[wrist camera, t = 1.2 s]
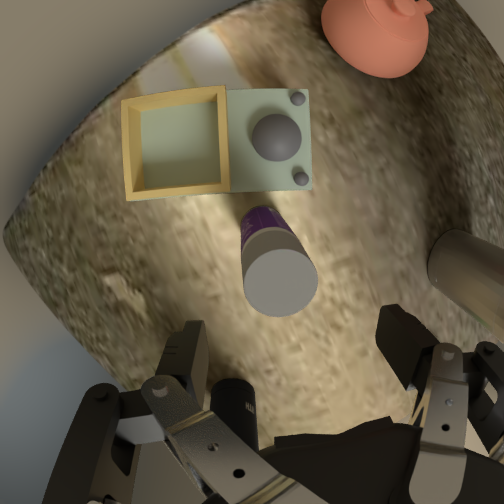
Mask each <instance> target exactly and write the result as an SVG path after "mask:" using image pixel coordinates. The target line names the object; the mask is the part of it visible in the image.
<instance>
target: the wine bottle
mask: <svg viewBox="0 0 504 504" xmlns="http://www.w3.org/2000/svg"><path fill="white" fill-rule="evenodd" d="M210 411H212V412H213V413H215V414H216V415H217V416H218V417H219V418H220V419H221V420H222V421H223V422H224V423H225V424H226V425H227V426H228V427H229V428H230V429H231V430H232V431H233V432H234V433H235V434H236V435H237V436H238V437H239V438H240V439H241V440H242V441H243V442H244V443H246V444H247V445H248V446H249V447H250V448H251V449H252V450H253V451H254V452H255V453H256V452H258V451H259V446H258V432H257V418H256V403H255V392H254V388H253V387H252V386H251V385H250V384H249V383H247V382H246V381H243V380H240V379H225V380H222V381H219V382H218V383H216V384H215V385H214V386H213V388H212V392H211V402H210Z"/></svg>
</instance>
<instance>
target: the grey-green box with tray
mask: <svg viewBox="0 0 504 504" xmlns="http://www.w3.org/2000/svg"><path fill="white" fill-rule="evenodd" d="M121 125H122V151H123V167H124V179H125V190H126V200H127V201H130V200H131V201H140V200H149V199H159V198H170V197H181V196H193V195H206V194H221V193H238V192H259V191H288V190H312V159H311V132H310V112H309V96H308V89H236V90H226V87H225V85H220V86H208V87H198V88H189V89H181V90H174V91H167V92H161V93H155V94H150V95H144V96H139V97H134V98H129V99H125V100H121Z"/></svg>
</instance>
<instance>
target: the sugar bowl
mask: <svg viewBox="0 0 504 504" xmlns="http://www.w3.org/2000/svg"><path fill="white" fill-rule="evenodd" d="M432 11H433V7H432V5H431V4H430V3H429V2H428V1H427V0H420V1H417V2H415V1H414V0H328V1H327V2H326V3H325V5H324V7H323V9H322V13H321V22H322V27H323V31H324V33H325V36H326V38H327V40H328V41H329V43H330V44H331V46H332V47H333V49H334V50H335V51H336V52H337V53H338V54H339V55H340V56H341V57H342V58H343V59H344V60H345V61H346V62H348V63H349V64H350V65H352V66H353V67H355V68H356V69H358V70H360V71H362V72H364V73H366V74H369V75H372V76H376V77H381V78H396V77H400V76H403V75H405V74H407V73H408V72H410V71H411V70H412V69H414V68H415V67H416V66H417V65H418V64H419V62H420V61H421V60H422V58H423V56H424V54H425V52H426V48H427V44H428V33H429V31H428V23H427V19H426V17H425V15H427V14H429V13H430V12H432Z"/></svg>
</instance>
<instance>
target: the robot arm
mask: <svg viewBox="0 0 504 504" xmlns="http://www.w3.org/2000/svg"><path fill="white" fill-rule="evenodd" d="M428 276H429V280H430V282H431V284H432V285H433V286H434V287H435V288H436V289H438V290H439V291H440V292H442V293H443V294H444V295H445V296H447V297H448V298H449V299H450V300H452V301H453V302H454V303H455V304H457V305H458V306H459V307H460V308H462V309H463V310H464V311H465V312H467V313H468V314H469V315H470V316H471V317H473V318H474V319H475V320H476V321H477V322H479V323H480V324H481V325H482V326H483V327H484V328H486V329H487V330H488V331H489V332H490V333H491V334H492V335H494V336H495V337H496V338H497V339H498V340H499V341H500V342H502V343H503V344H504V249H502V248H500V247H498V246H496V245H494V244H491V243H489V242H487V241H485V240H483V239H480V238H478V237H476V236H474V235H471V234H469V233H467V232H464V231H462V230H459V229H452V230H449V231H447V232H446V233H444V234H443V235H442V236H441V237H440V238H439V239H438V240H437V242H436V243H435V245H434V247H433V249H432V251H431V254H430V257H429V261H428ZM375 339H376V344H377V346H378V348H379V349H380V351H381V352H382V354H383V355H384V357H385V359H386V360H387V362H388V363H389V365H390V366H391V368H392V369H393V371H394V372H395V374H396V376H397V377H398V379H399V380H400V382H401V384H402V385H403V387H404V388H405V390H406V391H410V390H413V389H417V390H418V391H417V393H416V396H415V400H414V404H413V407H412V411H411V415H410V419H409V422H408V424H403V423H393V421H392V419H391V417H390V416H388V417H384V418H380V419H376V420H372V421H368V422H364V423H362V424H360V425H358V426H356V427H354V428H352V429H349V430H347V431H345V432H343V433H340V434H336V435H330V434H306V433H305V434H297V435H288V436H278V437H274V445H273V446H270V447H267V448H264V449H262V450H260V451H258V452H256V453H255V452H254V451H253V450H252V449H251V448H250V447H249V446H248V445H247V444H246V443H244V442H243V441H242V440H241V439H240V438H239V437H238V436H237V435H236V434H235V433H234V432H233V431H232V430H231V429H230V428H229V427H228V426H227V425H226V424H225V423H224V422H223V421H222V420H221V419H220V418H219V417H218V416H217V415H216V414H215V413H213V412H212V411H210V410H208V411H206V412H205V411H204V410H203V403H204V395H205V388H206V380H207V373H208V365H209V349H208V342H207V336H206V330H205V324H204V321H203V320H190V321H186V323H185V326H184V329H183V332H174V333H173V334H172V335H171V336H170V337H169V338H168V340H167V343H166V345H165V348H164V351H163V354H162V356H161V359H160V362H159V365H158V368H157V370H156V373H155V376H153V377H151V378H149V379H147V380H146V381H145V382H144V383H143V384H142V386H141V389H139V390H135V391H128V392H121V393H119V391H118V389H117V388H116V387H115V386H114V385H112V384H109V383H100V384H97V385H94V386H92V387H91V388H89V389H88V390H87V392H86V393H85V395H84V397H83V399H82V402H81V404H80V406H79V408H78V410H77V412H76V415H75V417H74V419H73V422H72V424H71V426H70V429H69V431H68V433H67V436H66V438H65V440H64V443H63V445H62V448H61V450H60V453H59V456H58V458H57V461H56V463H55V466H54V469H53V471H52V474H51V477H50V480H49V483H48V486H47V489H46V492H45V495H44V498H43V501H42V504H131V501H132V494H133V488H134V482H135V476H136V470H137V465H138V460H139V455H140V450H141V445H142V444H143V443H149V442H156V441H162V440H163V441H164V443H165V444H166V446H167V447H168V448H169V450H170V451H171V453H172V454H173V456H174V457H175V458H176V459H177V461H178V462H179V463H180V465H181V466H182V468H183V469H184V470H185V471H186V473H187V474H188V476H189V477H190V479H191V480H192V482H193V483H194V484H195V486H196V487H197V488H198V489H199V491H200V492H201V493H202V494H203V495H204V496H205V498H206V500H205V501H204V502H203V503H202V504H504V352H503V351H502V350H500V348H499V347H498V346H497V345H495V344H494V343H491V342H487V341H482V342H479V343H478V344H477V346H476V348H475V351H474V352H468V353H462V351H461V349H460V348H459V347H457V346H456V345H454V344H451V343H440V342H439V341H438V340H437V339H436V338H435V337H434V335H433V334H432V333H431V332H430V331H429V330H428V329H426V327H425V326H424V325H423V324H421V322H420V321H419V320H418V319H417V318H416V317H415V316H413V315H411V314H409V313H408V312H405V311H404V310H403V309H402V308H401V307H400V306H399V305H398V304H391V305H384V306H382V307H381V309H380V313H379V319H378V324H377V329H376V335H375ZM488 382H490V383H491V384H492V385H493V387H494V388H495V389H496V391H497V393H498V398H497V401H496V403H495V404H494V403H493V401H492V400H491V399H490V397H489V396H488V394H487V393H486V392H485V390H484V389H485V387H486V385H487V383H488ZM467 418H468V419H469V421H470V422H471V424H472V426H473V428H474V429H475V431H476V432H477V434H478V436H479V438H480V439H481V441H482V443H483V445H484V446H485V448H486V450H487V452H488V454H489V457H486V456H484V455H481V454H479V453H476V452H474V451H471V450H469V449H466V448H464V444H465V436H466V426H467Z"/></svg>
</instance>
